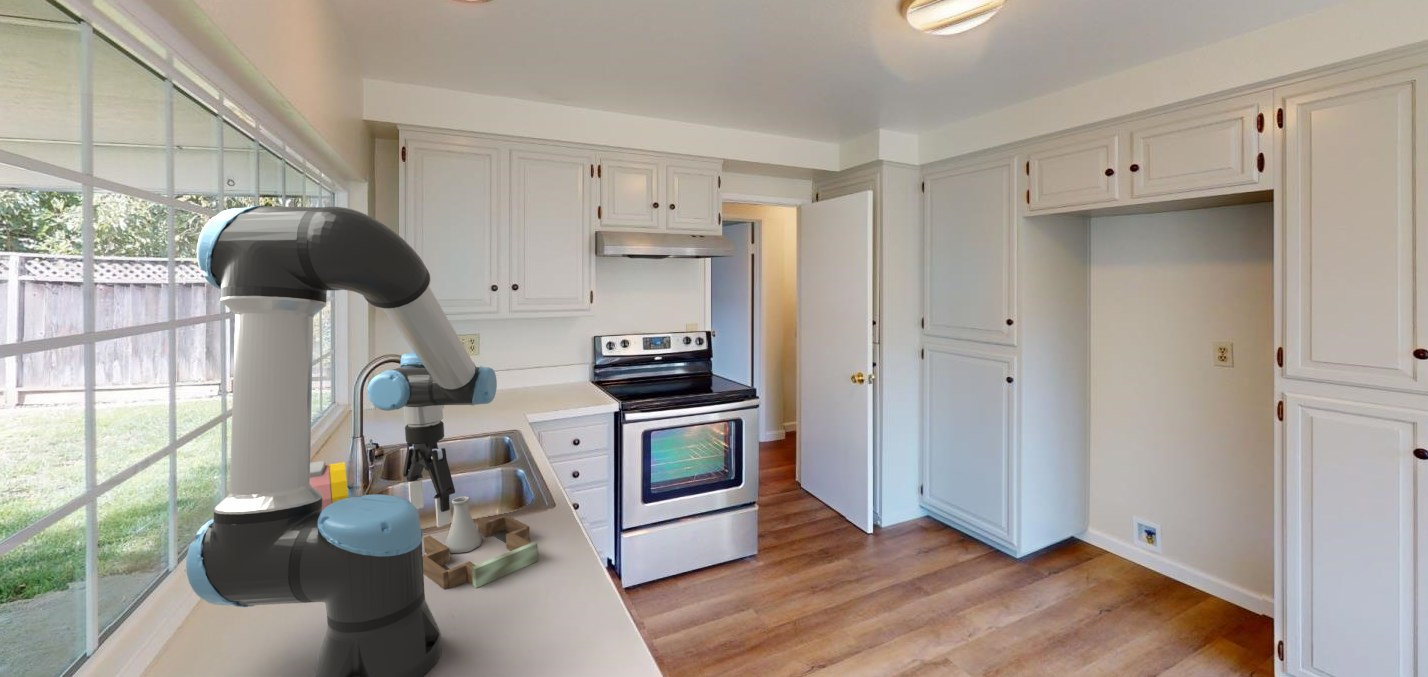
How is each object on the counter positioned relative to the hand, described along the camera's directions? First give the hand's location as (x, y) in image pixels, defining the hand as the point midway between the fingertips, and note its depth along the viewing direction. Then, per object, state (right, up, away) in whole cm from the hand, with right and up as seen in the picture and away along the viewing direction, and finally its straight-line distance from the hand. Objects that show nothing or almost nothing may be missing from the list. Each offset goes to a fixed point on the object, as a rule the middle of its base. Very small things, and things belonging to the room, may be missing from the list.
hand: (430, 516), depth 123 cm
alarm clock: (-15, -4, -11) cm, 19 cm away
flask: (+12, -3, -9) cm, 15 cm away
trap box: (+17, -3, -14) cm, 22 cm away
